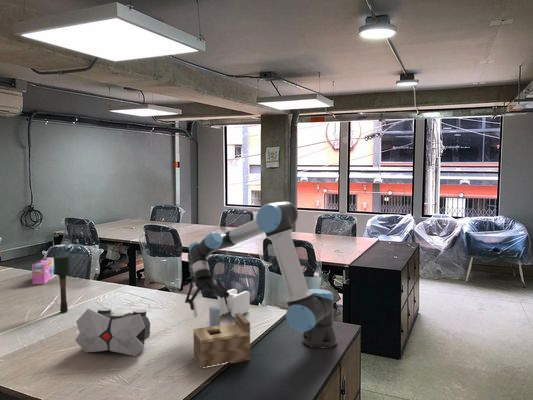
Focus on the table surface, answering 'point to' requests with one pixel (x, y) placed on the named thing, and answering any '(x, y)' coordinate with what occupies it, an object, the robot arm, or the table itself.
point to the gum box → (43, 271)
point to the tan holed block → (224, 330)
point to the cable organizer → (235, 302)
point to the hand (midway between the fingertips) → (211, 313)
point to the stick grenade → (62, 277)
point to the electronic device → (113, 331)
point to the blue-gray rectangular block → (214, 316)
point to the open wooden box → (222, 350)
